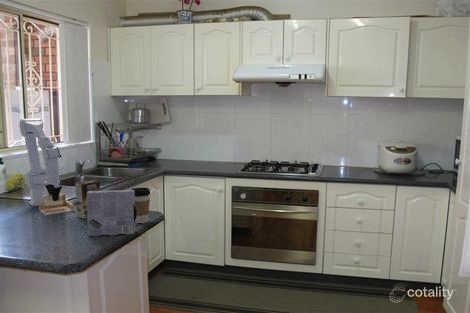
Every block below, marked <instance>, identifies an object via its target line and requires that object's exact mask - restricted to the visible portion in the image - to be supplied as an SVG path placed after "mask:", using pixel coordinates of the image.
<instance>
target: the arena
mask: <svg viewBox="0 0 470 313" xmlns="http://www.w3.org/2000/svg"><path fill="white" fill-rule="evenodd" d="M65 200H66V204H60V205H53V206H45V205H43V204H39V205H38V210H39V212H41V213H42V214H43V215H44V216H50V215H51V216H53V215H58V214H64V213H68V212H73V211H75V206H74V204H73V203H71V202H70V201H69V200H67V199H65Z"/></svg>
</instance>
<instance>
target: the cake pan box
mask: <svg viewBox="0 0 470 313" xmlns="http://www.w3.org/2000/svg"><path fill="white" fill-rule="evenodd" d="M136 217H137V206H136V203H135V191H134V190H130V189H128V190H127V189H126V190H100V191H88V192H87V218H86V219H87V220H86V221H87V224H86V225H87V236H88V237H99V236H100V235H104V236H105V235H109V236H119V235H118V234H126V235H135V232H136V223H135V220H136Z"/></svg>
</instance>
